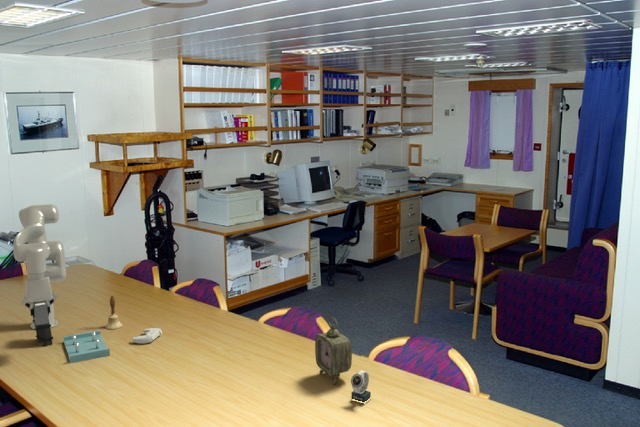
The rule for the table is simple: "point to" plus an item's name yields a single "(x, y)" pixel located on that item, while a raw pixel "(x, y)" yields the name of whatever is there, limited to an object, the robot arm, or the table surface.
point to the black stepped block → (44, 333)
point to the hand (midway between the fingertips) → (40, 315)
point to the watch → (360, 386)
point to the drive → (40, 312)
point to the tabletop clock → (333, 352)
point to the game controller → (148, 336)
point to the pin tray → (85, 346)
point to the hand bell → (113, 317)
